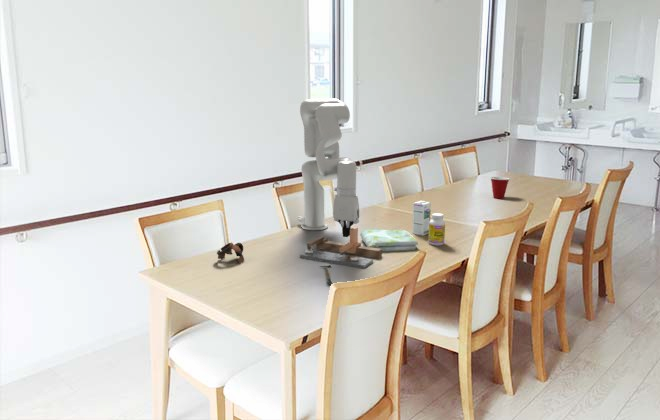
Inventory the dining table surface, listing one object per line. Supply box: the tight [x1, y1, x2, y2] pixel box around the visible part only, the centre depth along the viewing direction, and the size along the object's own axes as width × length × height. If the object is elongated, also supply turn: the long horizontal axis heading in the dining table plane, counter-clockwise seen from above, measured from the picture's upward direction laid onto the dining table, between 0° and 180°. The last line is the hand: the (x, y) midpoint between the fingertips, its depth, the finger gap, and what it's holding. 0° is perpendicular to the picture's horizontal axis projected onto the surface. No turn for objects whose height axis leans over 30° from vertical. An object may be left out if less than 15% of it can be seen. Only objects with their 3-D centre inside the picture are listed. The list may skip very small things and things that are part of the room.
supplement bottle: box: [428, 212, 446, 246], centre depth 245 cm, size 7×7×13 cm
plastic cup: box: [490, 176, 510, 200], centre depth 332 cm, size 11×11×12 cm
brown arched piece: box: [216, 242, 245, 265], centre depth 226 cm, size 12×10×8 cm
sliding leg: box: [338, 226, 362, 255], centre depth 229 cm, size 4×14×10 cm, turn 152°
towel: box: [359, 228, 419, 252], centre depth 245 cm, size 18×21×5 cm
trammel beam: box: [306, 236, 383, 259], centre depth 231 cm, size 28×14×5 cm, turn 62°
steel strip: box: [299, 248, 374, 269], centre depth 226 cm, size 28×8×2 cm, turn 62°
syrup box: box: [412, 200, 432, 236], centre depth 260 cm, size 6×6×14 cm
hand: (346, 236), depth 234 cm, fingers closed
